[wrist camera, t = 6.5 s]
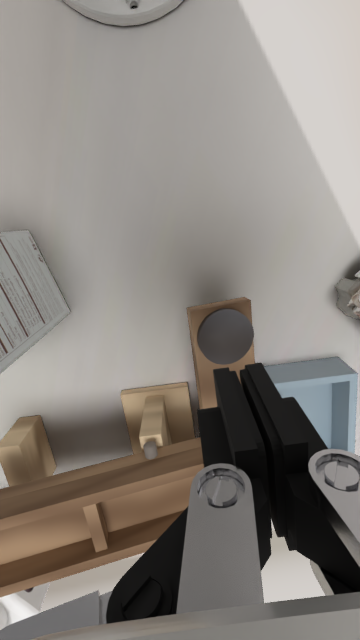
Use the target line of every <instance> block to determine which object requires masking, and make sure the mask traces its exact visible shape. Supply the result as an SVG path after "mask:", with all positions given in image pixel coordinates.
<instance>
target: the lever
mask: <svg viewBox="0 0 360 640" xmlns="http://www.w3.org/2000/svg"><path fill="white" fill-rule="evenodd" d="M187 315H188V322H189V330H190V338H191V345H192V353H193V361H194V368H195V376H196V383H197V391H198V399H199V406H200V409H206V408H213V407H217V399H216V392H215V384H214V376H213V369H219V368H227V367H229V370H230V371H236V373H237V376H238V378H239V381H240V370H242V369H245V365H248V364H255V360H254V345H253V337H254V332H253V327H252V315H251V300H249V299H247V298H245V297H241V298H236V299H231V300H225V301H220V302H215V303H209V304H204V305H199V306H193V307H188V308H187ZM240 384H241V382H240ZM143 448H144V452H141V453H137V454H133V455H130V456H126V457H122V458H118V459H114V460H110V461H107V462H103V463H99V464H95V465H91V466H87V467H83V468H80V469H76V470H72V471H68V472H64V473H60V474H57V475H53V476H49V477H45V478H41V479H37V480H34V481H30V482H26V483H22V484H18V485H14V486H11V487H7V488H3V489H0V597H4V596H7V595H10V594H13V593H16V592H19V591H23V590H26V589H29V588H32V587H35V586H39V585H42V584H45V583H48V582H51V581H54V580H58V579H61V578H64V577H67V576H70V575H73V574H77V573H80V572H83V571H86V570H89V569H93V568H96V567H99V566H102V565H105V564H108V563H112V562H115V561H118V560H121V559H124V558H128V557H131V556H134V555H137V554H140V553H143V552H146V551H147V550H148V549H149V548H150V547H151V546H152V545H153V543H154V542H155V541H156V540H157V539H158V538H159V537H160V536H161V535H162V534H163V533H164V532H165V531H166V529H167V528H168V527H169V526H170V525H171V524H172V523H173V522H174V521H175V520H176V519H177V518H178V517H179V516H180V514H181V513H182V512H183V511H184V510H185V509H186V508H187V507H188V506H189V497H190V489H191V484H192V481H193V479H194V477H195V476H196V474H197V473H198V472H199V471H201V470H202V469H203V468H204V464H203V456H202V447H201V439H200V437H199V438H195V439H191V440H187V441H183V442H179V443H176V444H172V445H168V446H164V447H160V448H157V447H156V443H155V442H154V441H148V442H146V443H145V444H144V445H143Z"/></svg>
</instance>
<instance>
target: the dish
mask: <svg viewBox="0 0 360 640" xmlns="http://www.w3.org/2000/svg"><path fill="white" fill-rule="evenodd" d="M264 368H265V370H266V371H267V373H268V375H269V376H270V378H271V380H272V382H273V383H274V385H275V387H276V388H277V390H278V392H279V393H280V395H281V397H282V398H286V397H294V398H295V399H296V400H297V402H298V403H299V405H300V406H301V408H302V409H303V411H304V413H305V414H306V416H307V417H308V419H309V420H310V422H311V423H312V425H313V426H314V428H315V429H316V431H317V432H318V434H319V435H320V437H321V438H322V440H323V441H324V443H325V444H326V446H327V447H328V449H340V450H345V451H348V452H352V453H355V428H356V404H357V380H358V373H357V372H356V371H354V370H353V369H352V368H351V367H350V366H348V365H347V364H346V363H345V362H344V361H342V360H341V359H340V358H339V357H333V358H325V359H317V360H309V361H301V362H294V363H286V364H278V365H270V366H264Z"/></svg>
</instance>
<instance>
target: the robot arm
mask: <svg viewBox="0 0 360 640" xmlns="http://www.w3.org/2000/svg"><path fill="white" fill-rule="evenodd" d="M63 1H64V2H65V3H66V4H67V5H69V6H70V7H72V8H73V9H75V10H76V11H78V12H80V13H81V14H83V15H84V16H86V17H89V18H91V19H94V20H97V21H99V22H102V23H105V24H112V25H119V26H128V25H139V24H143V23H146V22H149V21H152V20H155V19H158V18H160V17H162V16H163V15H165V14H167V13H168V12H170V11H171V10H173V9H175V8H176V7H177V6H178V5H179V4H180V3H181V2H182V1H183V0H63ZM134 5H135V6H137V8H136V9H131V7H132V6H134ZM213 376H214V384H215V392H216V399H217V407H213V408H206V409H198V410H197V414H198V422H199V431H200V439H201V447H202V456H203V464H204V468H203V469H202V470H201V471H199V472H198V473H197V474H196V476H195V477H194V479H193V481H192V484H191V489H190V497H189V506H188V507H187V508H186V509H185V510H184V511H183V512H182V513H181V514H180V516H179V517H178V518H177V519H176V520H175V521H174V522H173V523H172V524H171V525H170V526H169V527H168V528H167V529H166V531H165V532H164V533H163V534H162V535H161V536H160V537H159V538H158V539H157V540H156V541H155V542H154V543H153V545H152V546H151V547H150V548H149V549H148V550H147V551H146V552H145V553H144V554H143V555H142V556H141V557H140V558H139V560H138V561H137V562H136V563H135V564H134V565H133V566H132V567H131V568H130V569H129V570H128V571H127V572H126V574H125V575H124V576H123V577H122V578H121V579H120V581H119V582H118V583H117V585H116V586H115V587H114V589H113V591H111V592H108V593H105V594H103V595H100V593H99V591H96V592H93V593H90V594H88V595H85V596H82V597H80V598H78V599H75V600H72V601H70V602H67V603H64V604H62V605H59V606H57V607H54V608H52V609H49V610H46V611H44V612H41V613H39V614H36V615H33V616H31V617H28V618H26V619H23V620H21V621H18V622H15V623H13V624H10V625H8V626H6V627H5V628H3V629H1V630H0V640H360V456H358V455H356V454H354V453H352V452H348V451H345V450H340V449H328V447H327V446H326V444H325V443H324V441H323V440H322V438H321V437H320V435H319V434H318V432H317V431H316V429H315V428H314V426H313V425H312V423H311V422H310V420H309V419H308V417H307V416H306V414H305V413H304V411H303V409H302V408H301V406H300V405H299V403H298V402H297V400H296V399H295V398H294V397H286V398H282V397H281V395H280V393H279V392H278V390H277V388H276V387H275V385H274V383H273V382H272V380H271V378H270V376H269V375H268V373H267V371H266V370H265V368H264V366H263V365H262V363H255V364H248V365H245V369H242V370H240V381H239V378H238V376H237V373H236V371H230V370H229V367H227V368H219V369H213ZM240 382H241V384H240ZM271 519H272V522H273V525H274V528H275V531H276V534H277V536H278V537H285V540H286V543H287V545H288V548H289V551H292V550H297V551H298V552H299V553H301V554H302V555H304V556H305V557H307V558H309V559H310V565H311V567H312V570H313V572H314V574H315V576H316V578H317V580H318V582H319V584H320V586H321V588H322V589H323V591H324V593H325V595H326V596H320V597H313V598H304V599H295V600H287V601H278V602H270V603H264V599H263V589H262V580H261V570H262V568H263V567H264V565H265V563H266V562H267V560H268V559H269V557H270V555H271V545H270V538H272V529H271Z"/></svg>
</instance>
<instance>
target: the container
mask: <svg viewBox="0 0 360 640" xmlns="http://www.w3.org/2000/svg"><path fill="white" fill-rule="evenodd" d="M49 584H50V582H48V583H45V584H42V585H39V586H35V587H32V588H29V589H26V590H23V591H19V592H16V593H13V594H10V595H7V596H4V597H0V630H1V629H3V628H5V627H6V626H8V625H10V624H13V623H15V622H18V621H21V620H23V619H26V618H28V617H31V616H33V615H36V614H39V613H40V610H41V607H42V604H43V602H44V599H45V596H46V593H47V590H48V587H49Z"/></svg>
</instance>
